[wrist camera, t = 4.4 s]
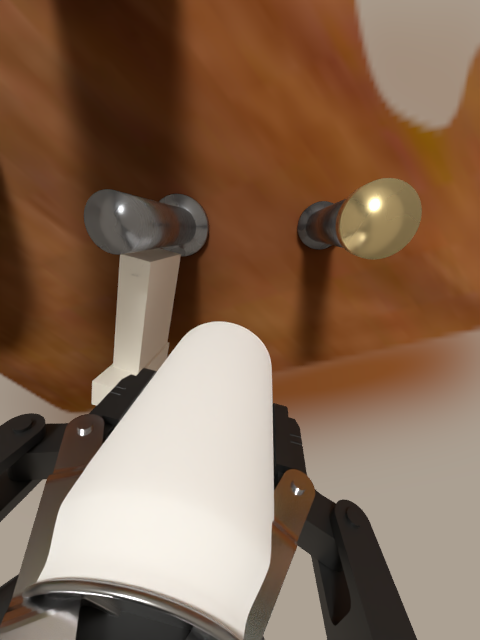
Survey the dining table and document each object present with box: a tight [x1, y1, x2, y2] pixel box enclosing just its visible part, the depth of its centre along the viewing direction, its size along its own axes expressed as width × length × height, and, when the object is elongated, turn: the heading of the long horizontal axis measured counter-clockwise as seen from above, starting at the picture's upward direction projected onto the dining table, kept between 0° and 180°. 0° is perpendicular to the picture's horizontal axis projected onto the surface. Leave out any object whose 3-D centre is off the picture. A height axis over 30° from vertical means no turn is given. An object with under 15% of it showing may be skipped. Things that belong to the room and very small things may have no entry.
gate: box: [92, 248, 181, 406], centre depth 19 cm, size 10×2×8 cm, turn 166°
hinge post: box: [84, 189, 209, 256], centre depth 17 cm, size 5×5×10 cm
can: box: [22, 322, 274, 640], centre depth 11 cm, size 6×6×12 cm
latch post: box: [297, 178, 422, 259], centre depth 15 cm, size 4×4×12 cm
